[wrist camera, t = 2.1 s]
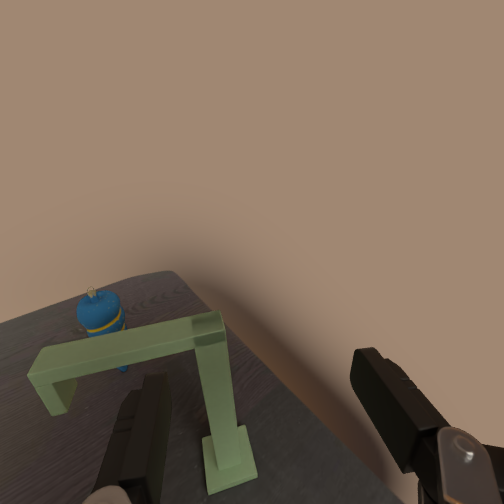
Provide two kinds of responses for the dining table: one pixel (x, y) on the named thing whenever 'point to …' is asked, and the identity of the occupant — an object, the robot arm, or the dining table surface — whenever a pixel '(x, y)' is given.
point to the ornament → (101, 314)
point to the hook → (149, 347)
